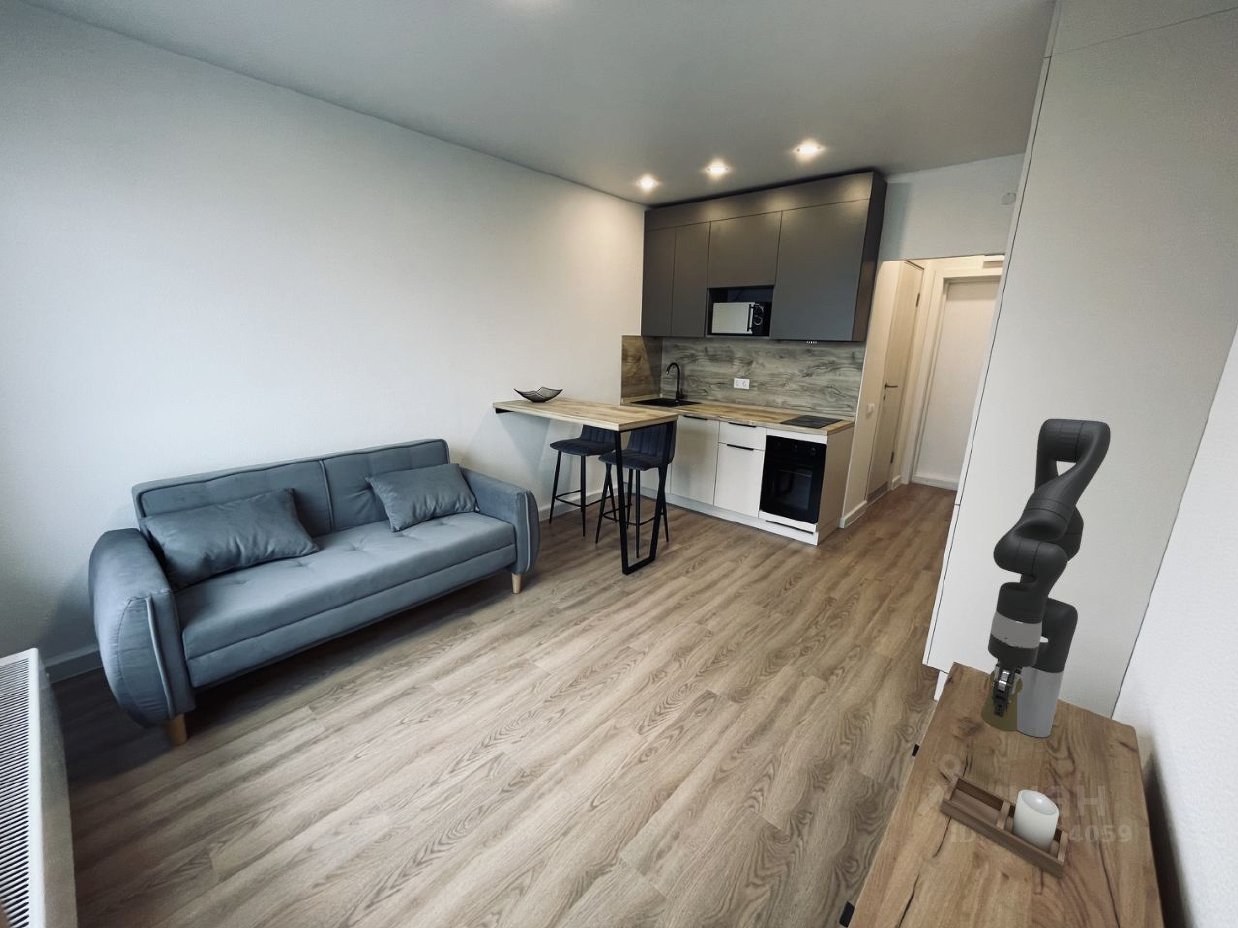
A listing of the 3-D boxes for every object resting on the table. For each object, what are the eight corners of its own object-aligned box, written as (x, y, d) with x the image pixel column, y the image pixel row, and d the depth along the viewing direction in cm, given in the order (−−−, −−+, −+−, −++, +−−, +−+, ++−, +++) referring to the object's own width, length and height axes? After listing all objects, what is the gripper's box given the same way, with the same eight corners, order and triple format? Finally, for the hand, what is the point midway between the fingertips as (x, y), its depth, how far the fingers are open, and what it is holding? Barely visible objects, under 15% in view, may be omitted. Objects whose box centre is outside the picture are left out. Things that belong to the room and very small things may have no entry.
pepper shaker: (1024, 733, 97) (1034, 684, 94) (989, 729, 98) (998, 680, 95) (1007, 712, 102) (1015, 666, 100) (974, 708, 104) (982, 662, 101)
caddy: (952, 787, 102) (954, 772, 101) (1064, 846, 89) (1068, 830, 89) (940, 814, 96) (942, 799, 95) (1059, 882, 83) (1063, 865, 82)
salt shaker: (1013, 822, 93) (1022, 777, 91) (1051, 842, 89) (1062, 796, 87) (1008, 841, 89) (1017, 795, 87) (1048, 863, 85) (1059, 815, 83)
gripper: (998, 615, 104) (985, 687, 107) (983, 641, 94) (970, 719, 98) (1044, 629, 98) (1029, 703, 102) (1034, 658, 89) (1018, 739, 92)
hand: (1000, 710), depth 100 cm, fingers closed on pepper shaker, 3 cm apart
